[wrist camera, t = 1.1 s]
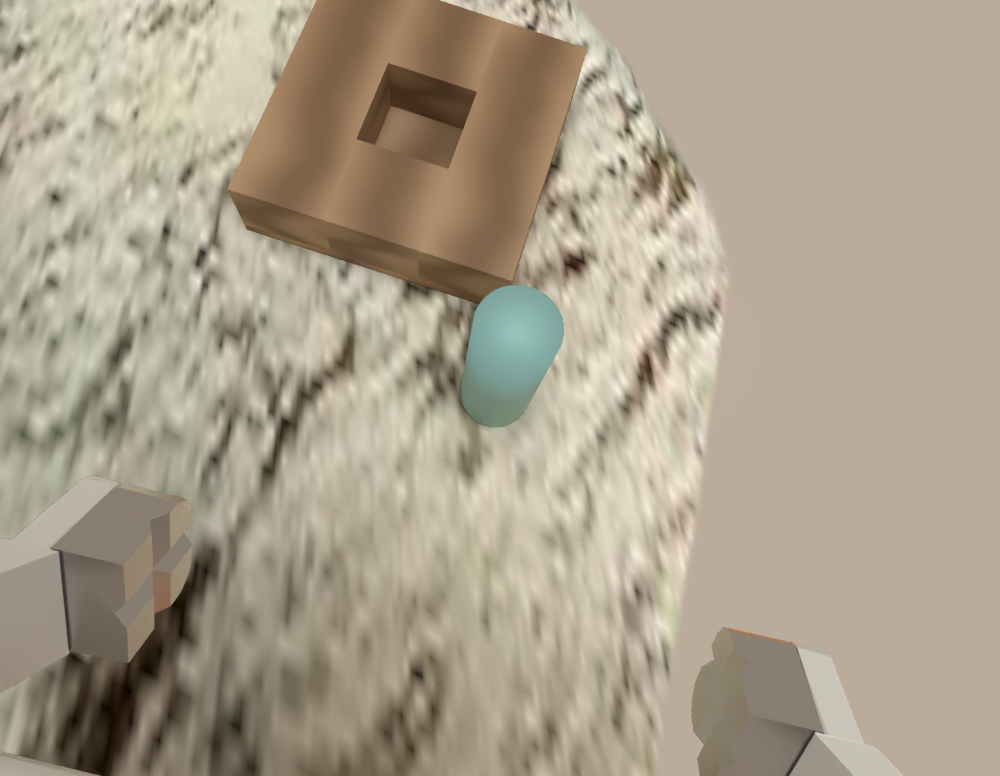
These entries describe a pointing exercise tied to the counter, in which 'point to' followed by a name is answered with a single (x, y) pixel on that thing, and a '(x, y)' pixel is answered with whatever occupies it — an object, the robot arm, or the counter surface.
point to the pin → (509, 353)
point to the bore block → (410, 141)
